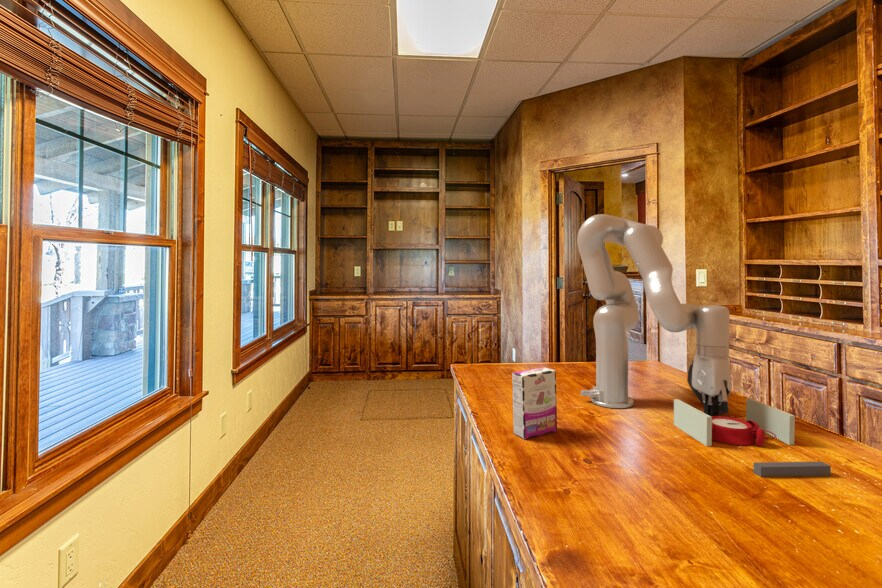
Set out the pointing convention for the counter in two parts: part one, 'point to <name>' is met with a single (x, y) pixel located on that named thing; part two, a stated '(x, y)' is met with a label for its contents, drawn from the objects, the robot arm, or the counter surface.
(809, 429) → the counter surface
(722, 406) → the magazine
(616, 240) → the robot arm
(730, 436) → the alarm clock
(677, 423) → the shelf bay
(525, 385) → the candy bar box
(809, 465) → the rail
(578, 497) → the counter surface
